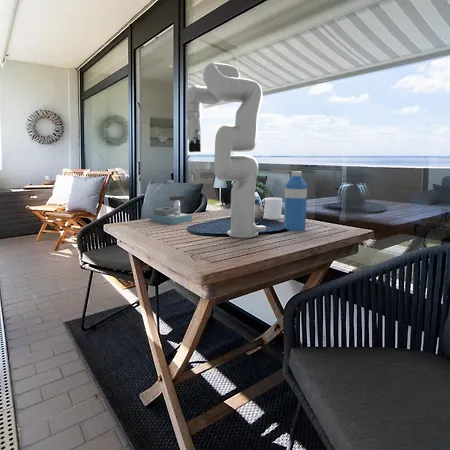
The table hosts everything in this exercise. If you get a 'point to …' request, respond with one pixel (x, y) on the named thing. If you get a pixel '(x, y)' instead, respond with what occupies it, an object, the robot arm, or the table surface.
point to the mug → (273, 208)
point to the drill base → (163, 217)
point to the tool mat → (177, 215)
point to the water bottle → (295, 202)
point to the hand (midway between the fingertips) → (194, 151)
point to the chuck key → (176, 203)
